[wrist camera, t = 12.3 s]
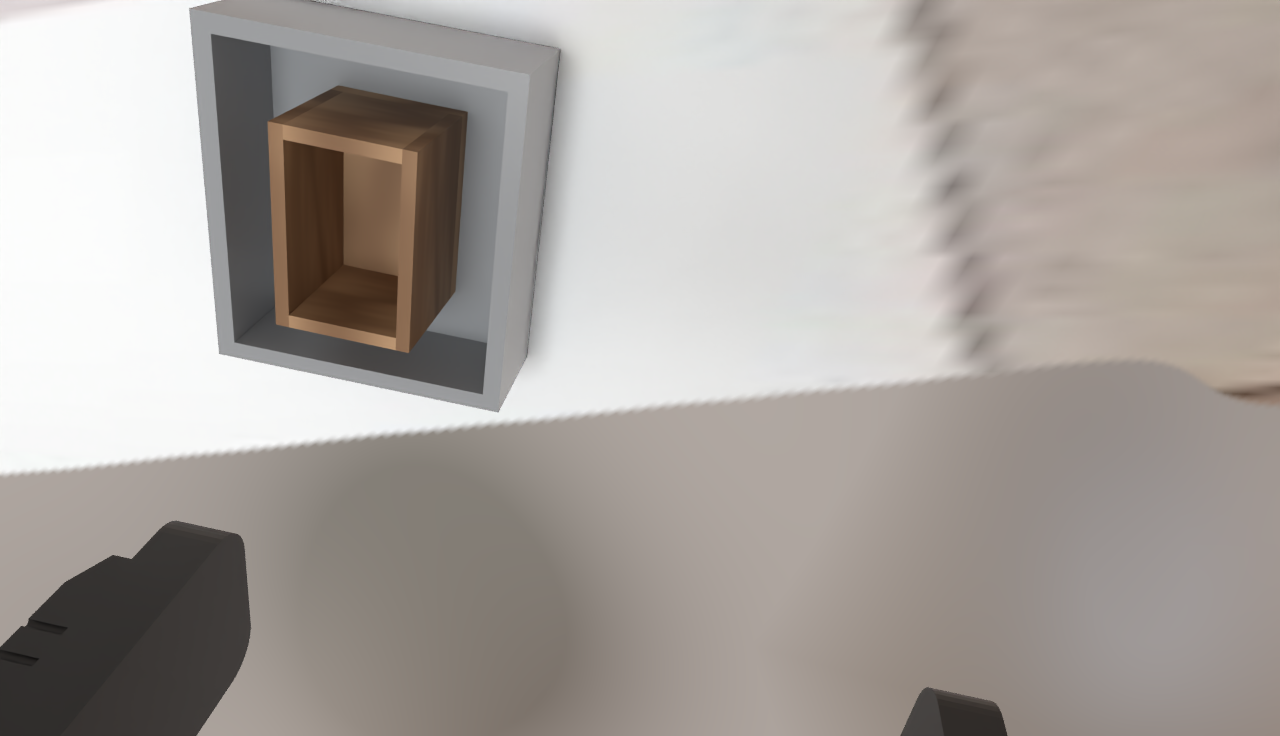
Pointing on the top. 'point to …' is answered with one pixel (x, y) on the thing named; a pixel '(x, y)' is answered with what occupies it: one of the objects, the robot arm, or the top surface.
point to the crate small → (365, 215)
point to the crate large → (491, 196)
